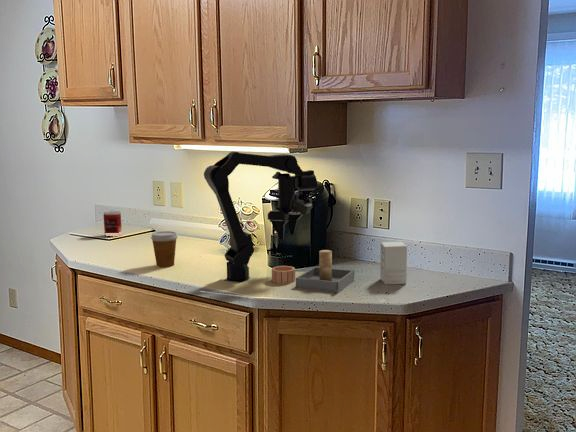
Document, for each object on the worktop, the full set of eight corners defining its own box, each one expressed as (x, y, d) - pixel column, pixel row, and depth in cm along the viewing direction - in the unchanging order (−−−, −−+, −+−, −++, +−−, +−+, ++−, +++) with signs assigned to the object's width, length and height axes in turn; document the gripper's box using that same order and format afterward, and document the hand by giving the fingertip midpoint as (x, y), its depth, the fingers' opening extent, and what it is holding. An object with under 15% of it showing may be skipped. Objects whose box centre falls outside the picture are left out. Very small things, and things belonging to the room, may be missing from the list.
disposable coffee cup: (147, 265, 228) (145, 233, 226) (168, 261, 235) (167, 230, 233) (161, 269, 221) (160, 236, 219) (183, 265, 228) (182, 233, 226)
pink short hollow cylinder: (267, 283, 201) (267, 270, 201) (277, 278, 208) (277, 265, 208) (289, 286, 198) (289, 272, 197) (299, 280, 205) (299, 267, 205)
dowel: (317, 282, 198) (317, 252, 197) (322, 279, 202) (321, 249, 200) (329, 283, 197) (329, 253, 195) (333, 280, 200) (333, 250, 199)
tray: (295, 288, 195) (295, 278, 195) (314, 276, 209) (314, 266, 209) (337, 293, 189) (338, 282, 189) (354, 280, 204) (354, 270, 203)
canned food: (117, 233, 292) (116, 210, 291) (124, 235, 286) (123, 212, 285) (101, 235, 287) (100, 212, 286) (109, 238, 281) (107, 214, 280)
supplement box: (401, 278, 206) (402, 241, 204) (406, 284, 199) (407, 245, 197) (379, 278, 206) (380, 241, 204) (383, 284, 199) (384, 246, 197)
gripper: (297, 196, 197) (298, 243, 200) (319, 189, 214) (319, 233, 217) (266, 194, 202) (267, 241, 204) (289, 188, 219) (290, 231, 221)
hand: (287, 237), depth 211 cm, fingers open, 9 cm apart
